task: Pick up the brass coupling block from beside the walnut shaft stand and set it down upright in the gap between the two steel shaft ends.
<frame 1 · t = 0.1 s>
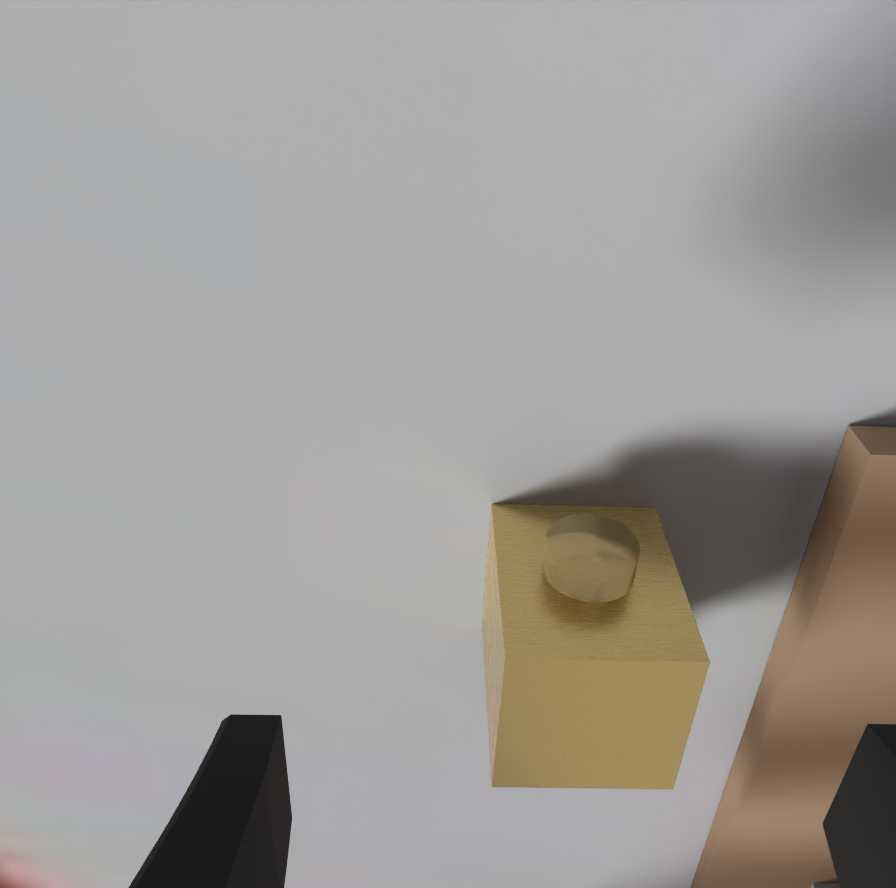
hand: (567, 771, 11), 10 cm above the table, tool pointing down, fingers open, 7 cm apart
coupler: (564, 567, 22), on the table
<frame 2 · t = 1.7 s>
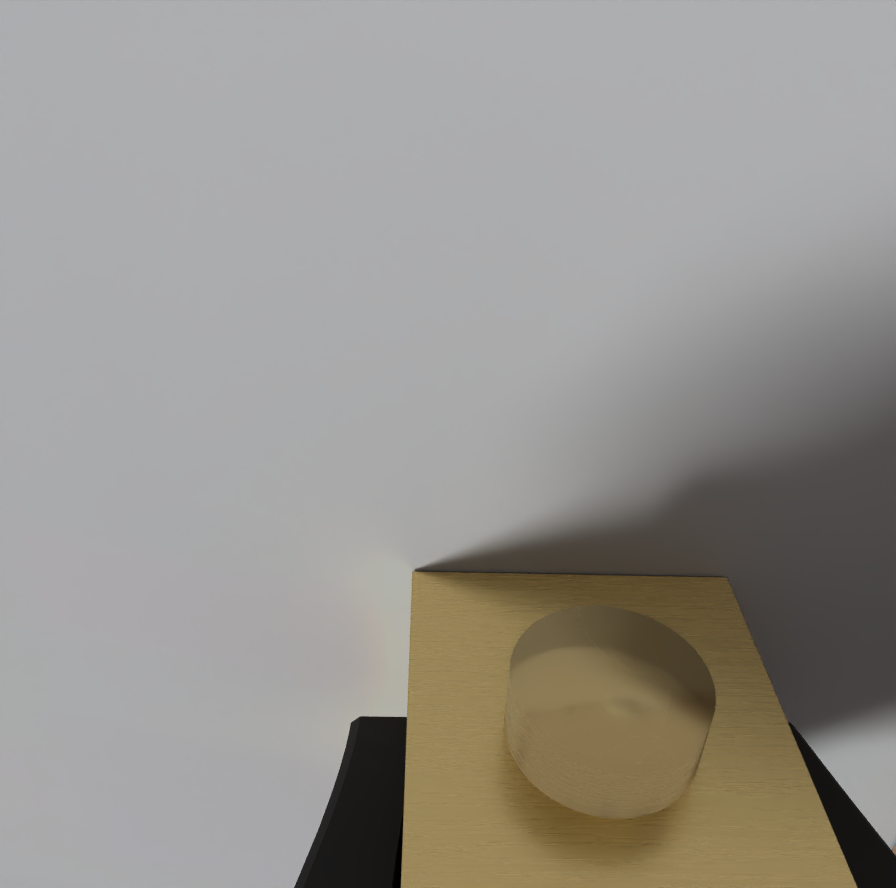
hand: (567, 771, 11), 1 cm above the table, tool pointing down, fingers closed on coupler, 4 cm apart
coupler: (554, 683, 12), on the table, touching gripper
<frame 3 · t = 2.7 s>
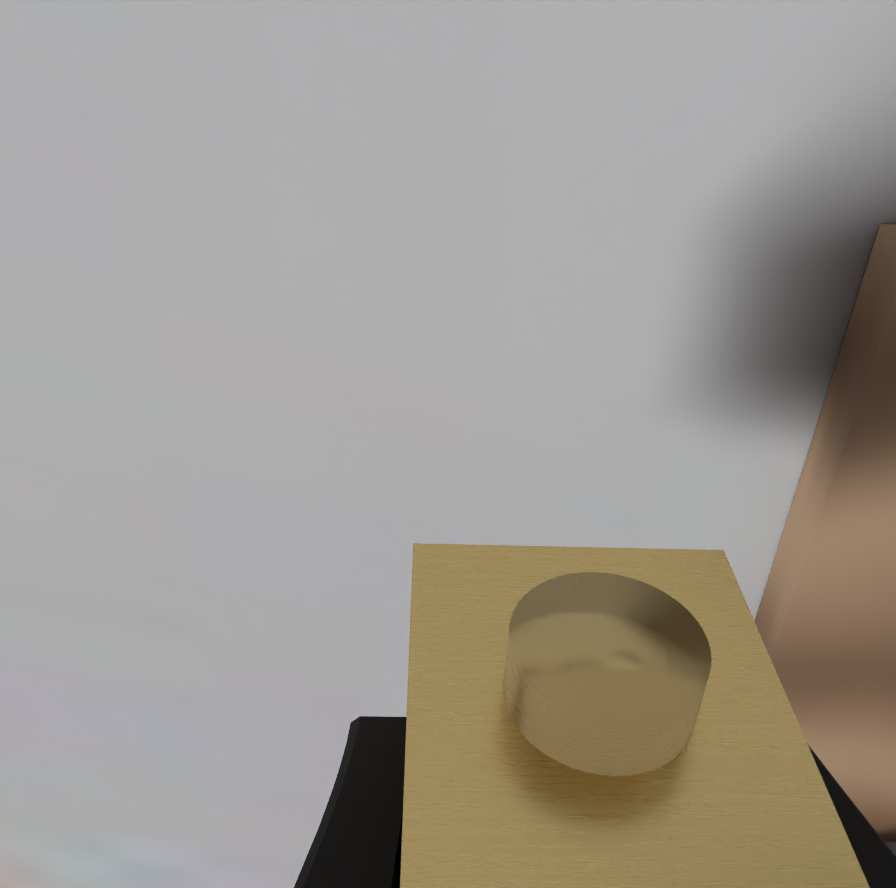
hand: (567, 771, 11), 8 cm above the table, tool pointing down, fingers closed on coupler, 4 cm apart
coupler: (553, 657, 12), point 6 cm above the table, touching gripper
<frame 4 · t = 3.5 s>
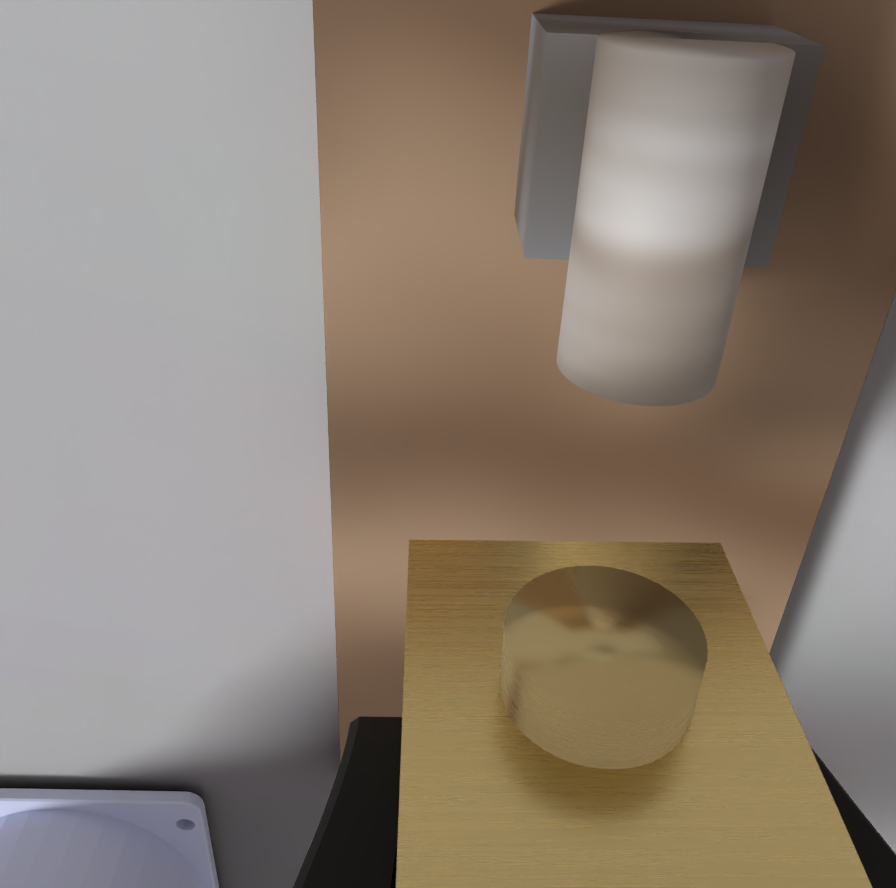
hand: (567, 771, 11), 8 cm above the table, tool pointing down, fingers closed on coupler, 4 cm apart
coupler: (551, 652, 12), point 7 cm above the table, touching gripper
shaft stand: (571, 454, 18), on the table
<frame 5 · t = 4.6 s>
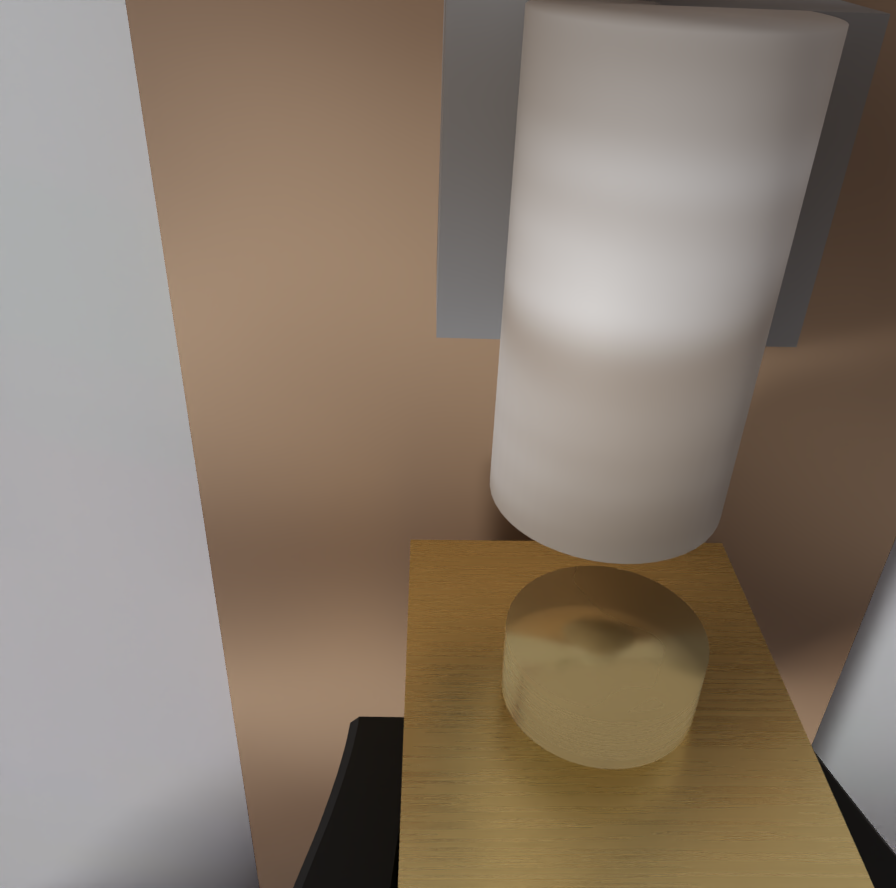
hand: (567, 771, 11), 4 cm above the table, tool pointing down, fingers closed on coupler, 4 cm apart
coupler: (552, 652, 12), point 2 cm above the table, touching gripper
shaft stand: (536, 557, 14), on the table
when the fingers open (4 cm above the table, at t = 5.3 s): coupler drops 1 cm, resting on shaft stand.
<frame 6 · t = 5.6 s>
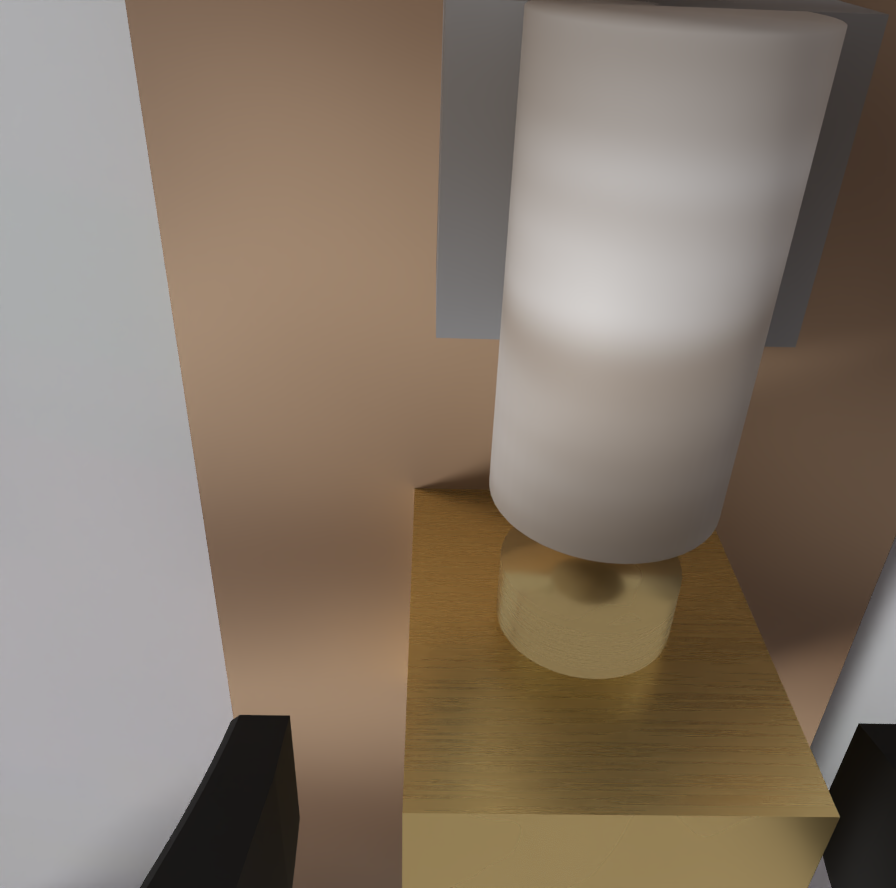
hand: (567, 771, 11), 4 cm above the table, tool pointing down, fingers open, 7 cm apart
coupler: (544, 597, 13), point 1 cm above the table, touching shaft stand
shaft stand: (535, 557, 14), on the table
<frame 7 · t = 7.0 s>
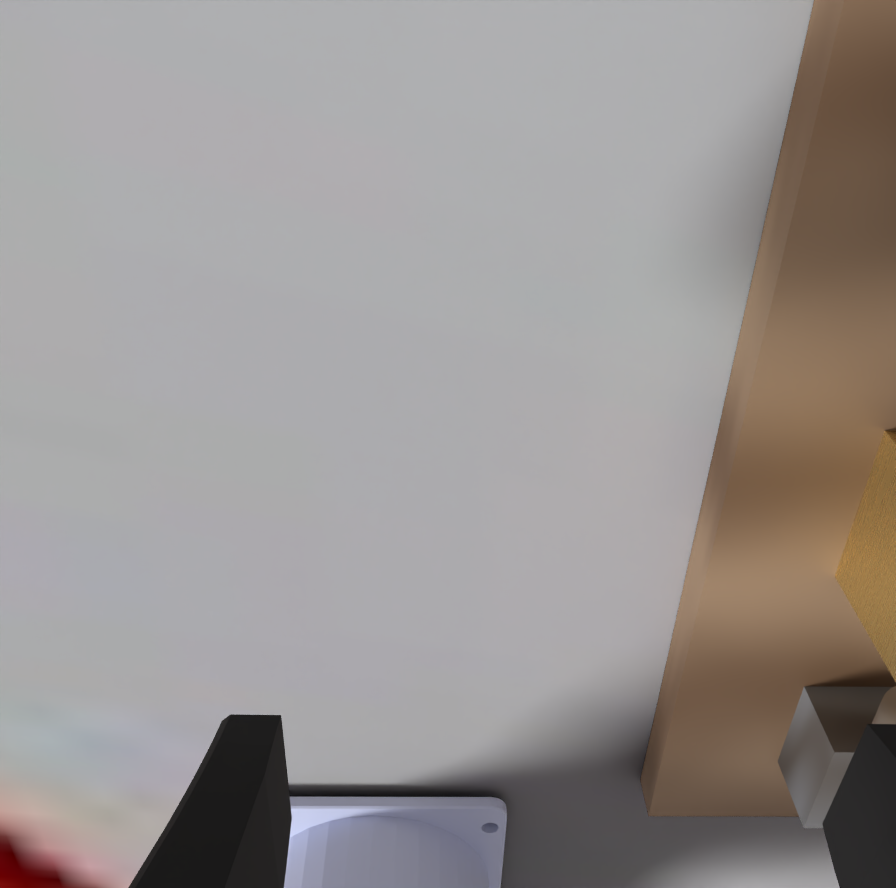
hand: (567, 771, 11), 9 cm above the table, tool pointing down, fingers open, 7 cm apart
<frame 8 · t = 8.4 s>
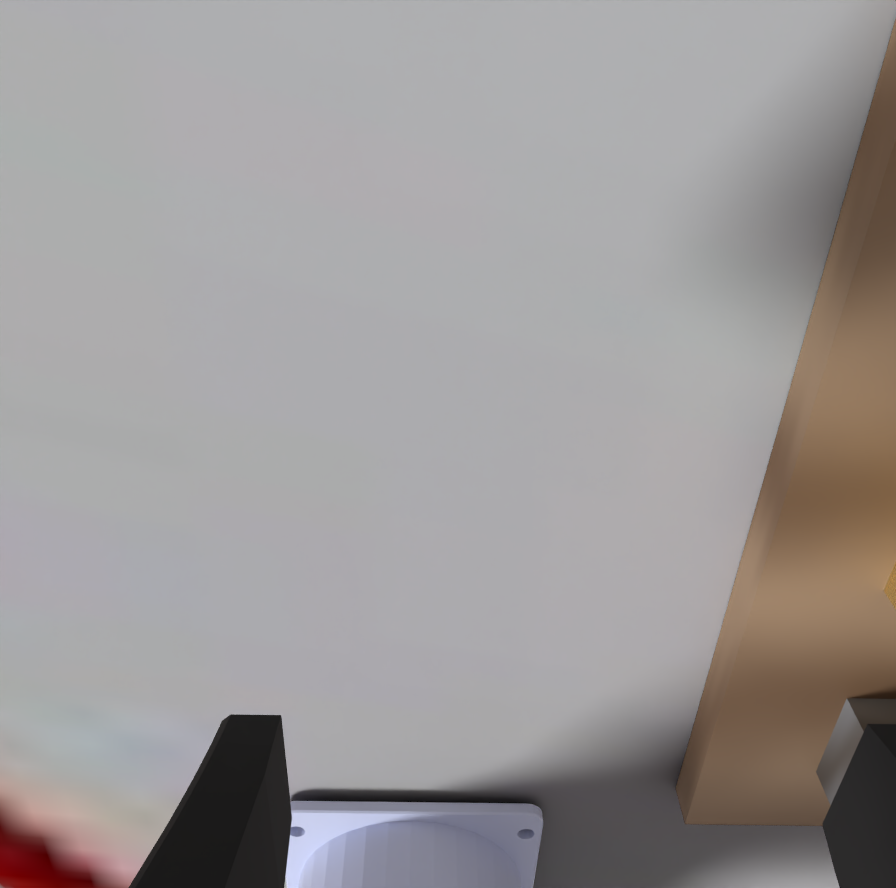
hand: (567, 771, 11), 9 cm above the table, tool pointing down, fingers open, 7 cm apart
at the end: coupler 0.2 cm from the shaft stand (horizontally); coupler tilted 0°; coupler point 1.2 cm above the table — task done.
